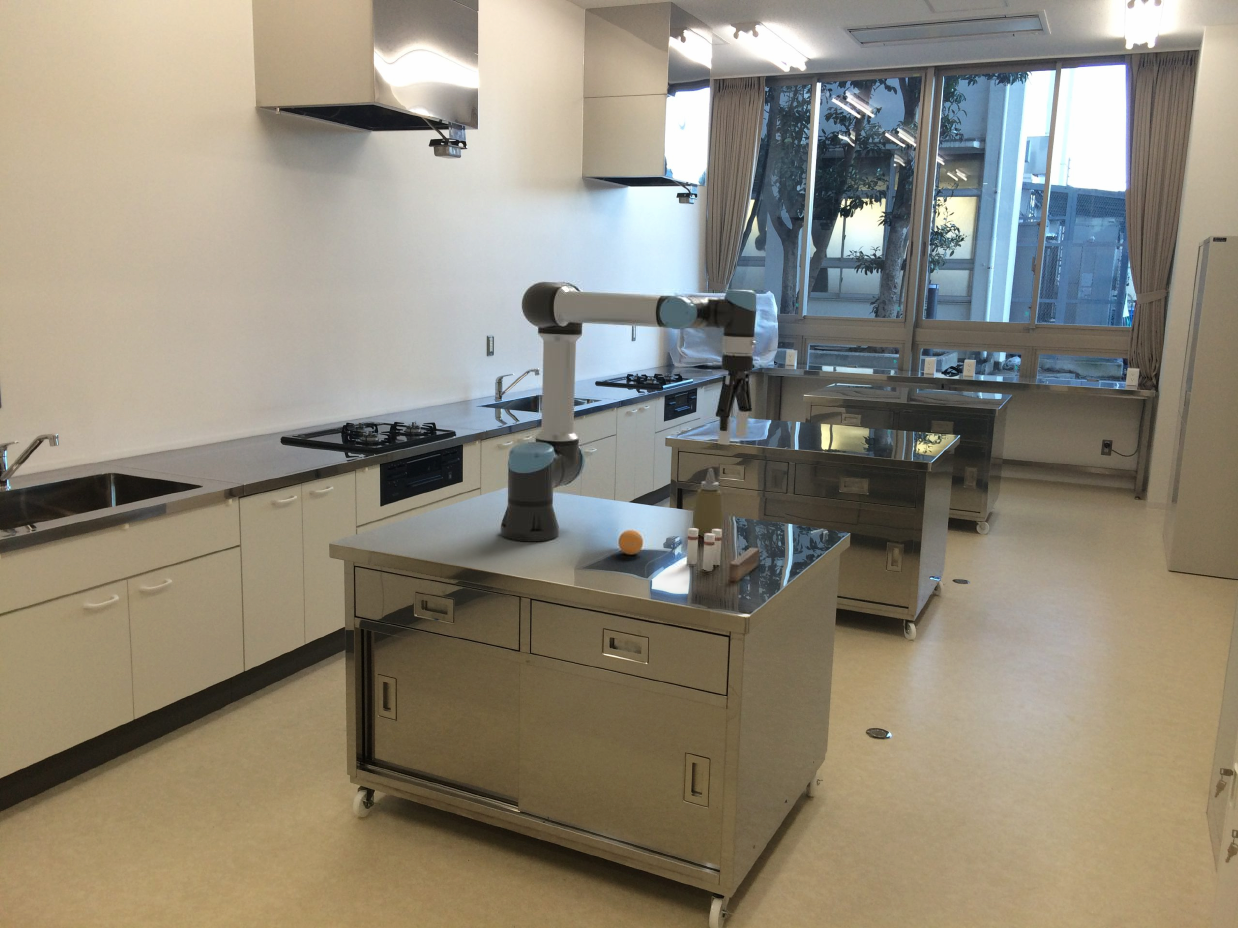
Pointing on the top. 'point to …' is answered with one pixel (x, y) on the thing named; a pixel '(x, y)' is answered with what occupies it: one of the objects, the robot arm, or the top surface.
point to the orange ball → (630, 542)
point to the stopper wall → (743, 564)
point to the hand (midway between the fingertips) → (732, 440)
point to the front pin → (692, 546)
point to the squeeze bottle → (708, 506)
